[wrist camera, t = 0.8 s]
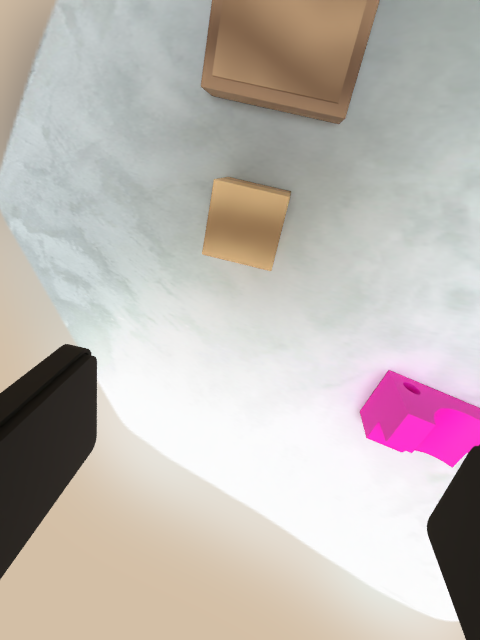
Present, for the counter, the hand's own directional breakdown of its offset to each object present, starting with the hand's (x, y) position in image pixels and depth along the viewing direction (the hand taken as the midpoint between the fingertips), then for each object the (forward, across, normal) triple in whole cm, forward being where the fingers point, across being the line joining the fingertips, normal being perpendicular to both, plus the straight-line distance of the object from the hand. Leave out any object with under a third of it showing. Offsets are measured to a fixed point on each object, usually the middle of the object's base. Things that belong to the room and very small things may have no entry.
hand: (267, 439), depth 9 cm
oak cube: (+28, +4, -1) cm, 28 cm away
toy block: (+28, -21, +16) cm, 38 cm away
